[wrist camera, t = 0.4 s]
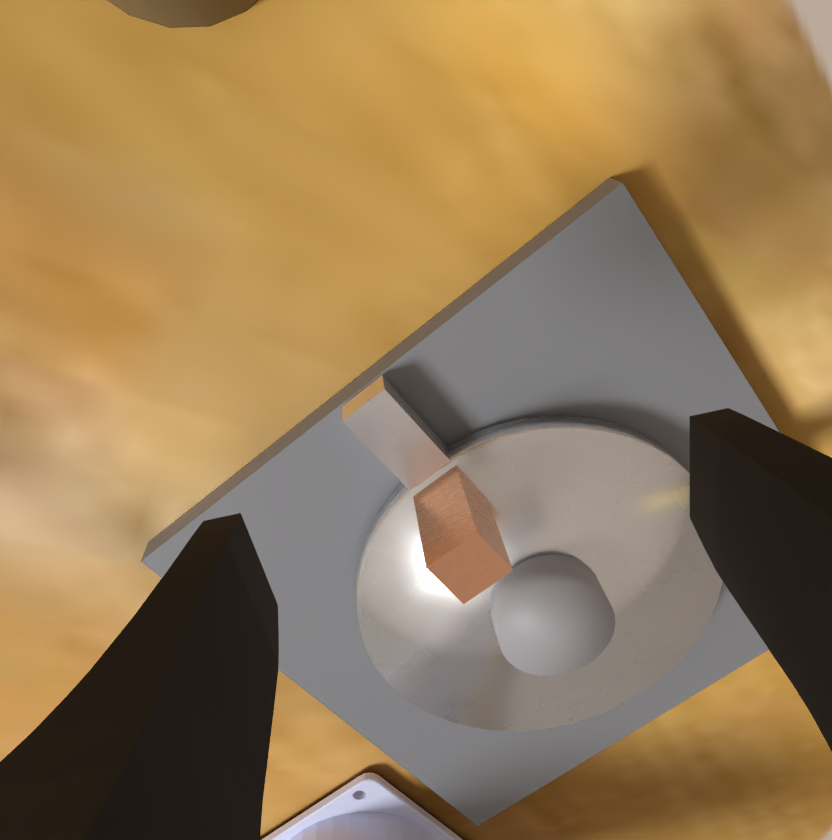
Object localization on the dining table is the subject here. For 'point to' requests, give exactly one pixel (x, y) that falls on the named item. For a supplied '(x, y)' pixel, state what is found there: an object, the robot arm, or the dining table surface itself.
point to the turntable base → (459, 417)
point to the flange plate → (522, 559)
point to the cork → (183, 11)
